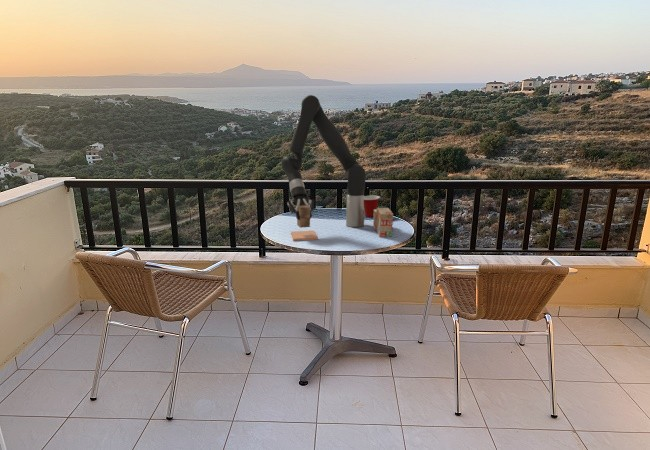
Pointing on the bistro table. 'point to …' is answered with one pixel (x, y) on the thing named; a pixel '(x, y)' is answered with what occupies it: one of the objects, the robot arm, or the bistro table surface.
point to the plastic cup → (370, 205)
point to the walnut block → (304, 216)
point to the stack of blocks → (383, 222)
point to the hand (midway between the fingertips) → (304, 218)
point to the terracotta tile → (304, 235)
